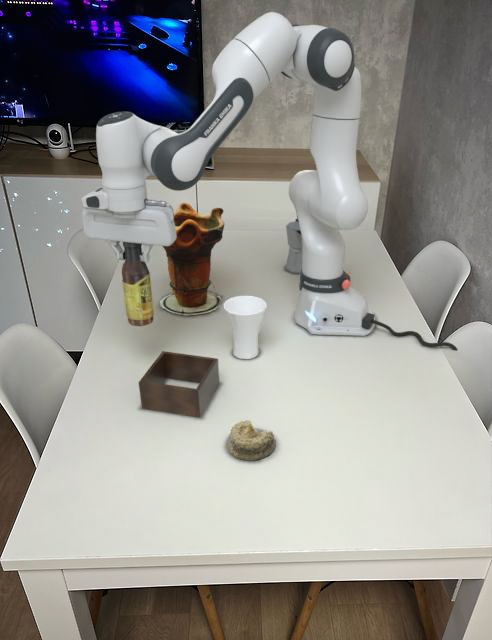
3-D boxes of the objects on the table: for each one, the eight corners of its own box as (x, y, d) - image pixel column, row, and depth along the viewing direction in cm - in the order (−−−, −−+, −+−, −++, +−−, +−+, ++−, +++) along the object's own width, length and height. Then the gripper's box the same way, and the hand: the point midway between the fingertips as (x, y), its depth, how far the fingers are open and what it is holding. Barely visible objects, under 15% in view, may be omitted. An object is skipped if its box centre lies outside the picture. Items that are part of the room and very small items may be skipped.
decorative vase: (235, 288, 187) (233, 196, 171) (217, 323, 168) (212, 224, 152) (170, 282, 190) (162, 192, 174) (144, 316, 171) (133, 218, 155)
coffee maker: (312, 276, 195) (315, 221, 185) (285, 276, 195) (286, 221, 185) (310, 258, 207) (313, 205, 197) (284, 258, 207) (286, 205, 197)
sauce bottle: (148, 329, 140) (139, 246, 129) (123, 326, 141) (111, 243, 130) (158, 316, 145) (150, 235, 134) (134, 313, 146) (123, 233, 135)
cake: (259, 469, 119) (257, 449, 116) (217, 452, 124) (214, 432, 121) (285, 439, 126) (284, 419, 123) (244, 424, 130) (243, 404, 127)
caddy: (219, 384, 143) (218, 358, 139) (200, 417, 132) (198, 391, 128) (165, 376, 146) (162, 350, 142) (141, 408, 135) (138, 382, 131)
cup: (273, 347, 157) (273, 300, 150) (255, 367, 149) (254, 318, 142) (237, 339, 161) (235, 292, 153) (217, 357, 153) (215, 309, 146)
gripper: (178, 197, 128) (183, 259, 135) (88, 189, 131) (98, 250, 139) (166, 206, 122) (172, 270, 130) (74, 198, 126) (85, 261, 134)
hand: (133, 260), depth 135 cm, fingers closed on sauce bottle, 4 cm apart
